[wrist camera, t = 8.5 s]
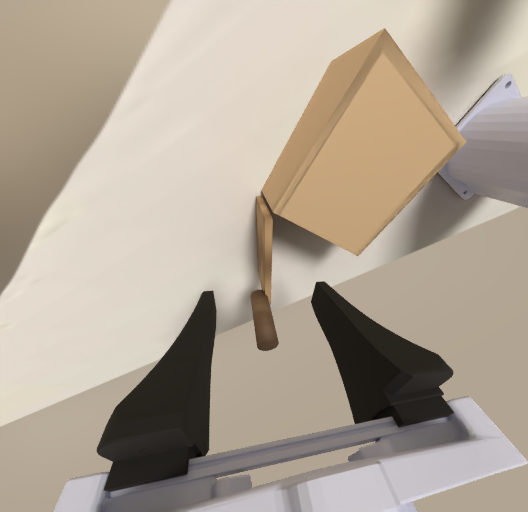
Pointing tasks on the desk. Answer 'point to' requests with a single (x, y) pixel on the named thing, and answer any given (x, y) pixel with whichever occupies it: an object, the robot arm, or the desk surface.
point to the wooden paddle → (264, 281)
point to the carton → (361, 147)
